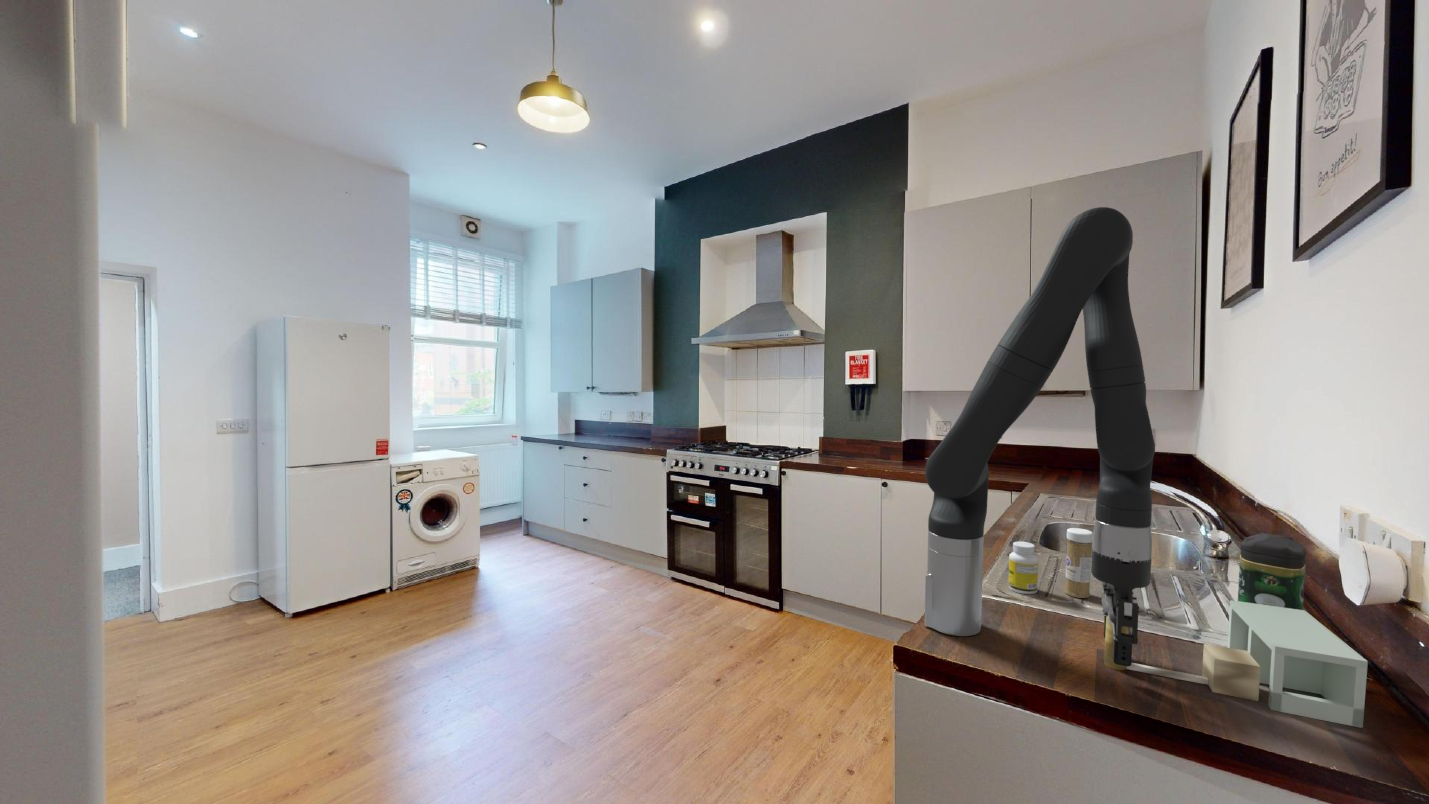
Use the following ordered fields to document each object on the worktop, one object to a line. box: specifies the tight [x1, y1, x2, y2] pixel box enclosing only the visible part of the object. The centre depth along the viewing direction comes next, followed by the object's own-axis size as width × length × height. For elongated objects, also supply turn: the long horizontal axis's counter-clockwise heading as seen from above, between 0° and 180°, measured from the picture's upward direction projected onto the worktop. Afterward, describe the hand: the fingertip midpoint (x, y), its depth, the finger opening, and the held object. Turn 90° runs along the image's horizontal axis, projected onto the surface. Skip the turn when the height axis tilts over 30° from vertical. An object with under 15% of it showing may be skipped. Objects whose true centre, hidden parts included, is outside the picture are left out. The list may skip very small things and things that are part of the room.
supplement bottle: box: [1008, 541, 1039, 595], centre depth 120 cm, size 5×5×10 cm
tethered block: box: [1103, 616, 1261, 702], centre depth 87 cm, size 18×5×8 cm, turn 63°
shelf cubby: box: [1227, 600, 1369, 729], centre depth 84 cm, size 9×17×9 cm, turn 154°
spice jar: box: [1063, 527, 1093, 599], centre depth 118 cm, size 5×5×14 cm
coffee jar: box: [1237, 532, 1307, 610], centre depth 96 cm, size 10×8×19 cm
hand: (1116, 651), depth 90 cm, fingers open, 8 cm apart
